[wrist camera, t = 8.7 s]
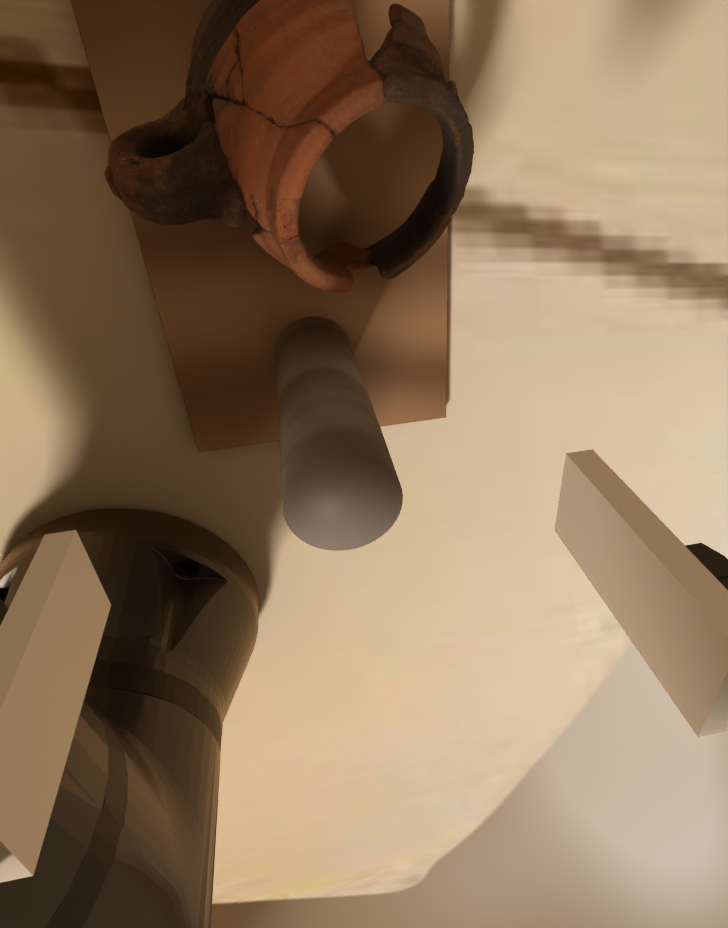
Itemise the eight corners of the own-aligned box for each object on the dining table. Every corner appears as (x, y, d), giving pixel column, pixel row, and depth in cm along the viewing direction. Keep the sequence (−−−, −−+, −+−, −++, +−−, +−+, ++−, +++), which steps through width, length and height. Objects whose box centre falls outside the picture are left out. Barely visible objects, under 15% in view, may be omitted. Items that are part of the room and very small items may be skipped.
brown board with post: (443, 412, 30) (537, 577, 20) (199, 445, 29) (164, 639, 19) (445, -65, 20) (650, -246, 9) (64, -38, 19) (-190, -210, 8)
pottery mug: (374, -103, 19) (520, -14, 15) (383, 166, 27) (479, 268, 23) (17, -2, 17) (82, 132, 13) (145, 257, 25) (207, 386, 21)
